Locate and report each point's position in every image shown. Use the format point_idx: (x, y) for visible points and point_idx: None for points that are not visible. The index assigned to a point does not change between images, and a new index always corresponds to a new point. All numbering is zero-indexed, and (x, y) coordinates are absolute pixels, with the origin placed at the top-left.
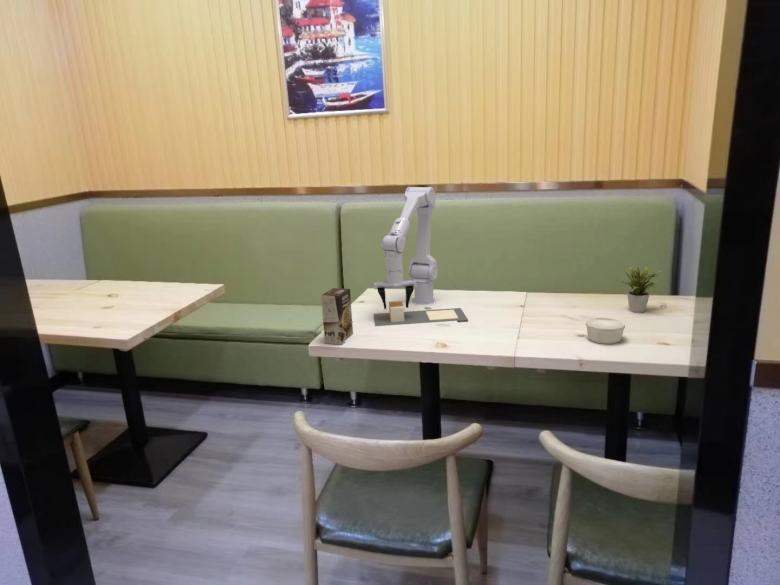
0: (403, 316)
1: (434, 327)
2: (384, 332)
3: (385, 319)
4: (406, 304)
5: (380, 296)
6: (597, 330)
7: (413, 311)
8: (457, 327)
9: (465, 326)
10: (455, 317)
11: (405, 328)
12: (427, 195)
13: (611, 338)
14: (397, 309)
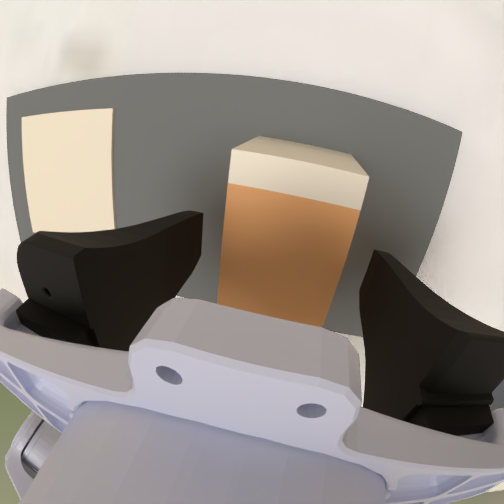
0: (256, 140)
1: (120, 23)
2: (422, 26)
3: (366, 226)
4: (190, 217)
5: (468, 317)
6: None
7: None
8: (49, 26)
9: (29, 39)
10: (27, 126)
11: (279, 33)
12: None
13: None
14: (297, 158)
